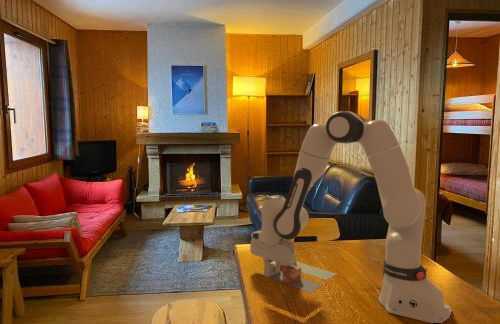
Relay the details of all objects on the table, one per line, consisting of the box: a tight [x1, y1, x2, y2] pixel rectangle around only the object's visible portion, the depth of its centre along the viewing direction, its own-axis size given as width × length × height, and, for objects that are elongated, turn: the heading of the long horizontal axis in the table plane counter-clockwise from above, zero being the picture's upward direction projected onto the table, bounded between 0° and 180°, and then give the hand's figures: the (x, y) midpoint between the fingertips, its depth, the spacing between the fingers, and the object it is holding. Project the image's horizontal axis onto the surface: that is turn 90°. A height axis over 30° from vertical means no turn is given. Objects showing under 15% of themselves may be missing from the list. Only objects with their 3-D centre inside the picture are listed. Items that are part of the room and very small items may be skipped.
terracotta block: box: [282, 265, 302, 284], centre depth 147 cm, size 5×5×5 cm
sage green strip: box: [280, 252, 337, 281], centre depth 158 cm, size 22×8×5 cm, turn 48°
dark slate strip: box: [262, 261, 323, 294], centre depth 147 cm, size 22×8×5 cm, turn 48°
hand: (272, 270), depth 154 cm, fingers closed on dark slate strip, 2 cm apart
